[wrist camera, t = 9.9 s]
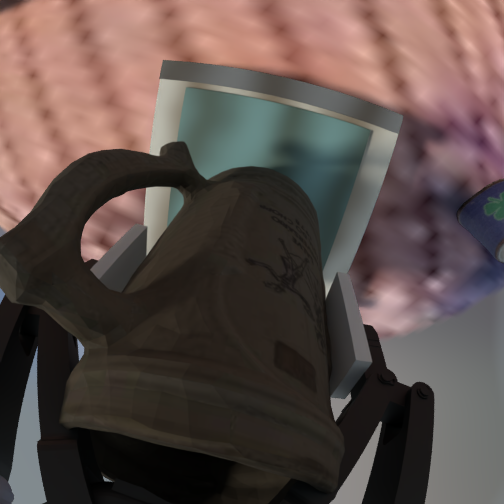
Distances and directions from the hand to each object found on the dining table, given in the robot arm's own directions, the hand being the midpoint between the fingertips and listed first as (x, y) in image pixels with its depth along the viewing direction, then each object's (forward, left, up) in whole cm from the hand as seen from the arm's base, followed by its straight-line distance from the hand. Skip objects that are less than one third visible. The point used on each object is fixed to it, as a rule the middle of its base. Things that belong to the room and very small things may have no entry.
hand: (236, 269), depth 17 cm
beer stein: (+2, 0, -8) cm, 8 cm away
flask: (-25, -7, -14) cm, 30 cm away
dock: (0, 0, -14) cm, 14 cm away
